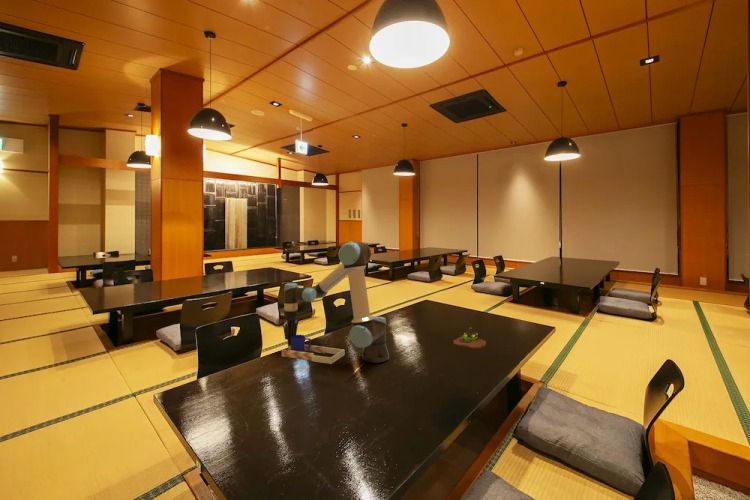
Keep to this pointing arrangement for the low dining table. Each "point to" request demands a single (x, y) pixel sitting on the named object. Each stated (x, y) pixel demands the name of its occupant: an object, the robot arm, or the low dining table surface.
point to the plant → (470, 341)
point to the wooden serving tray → (303, 354)
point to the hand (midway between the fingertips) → (290, 350)
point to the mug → (299, 343)
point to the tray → (329, 360)
